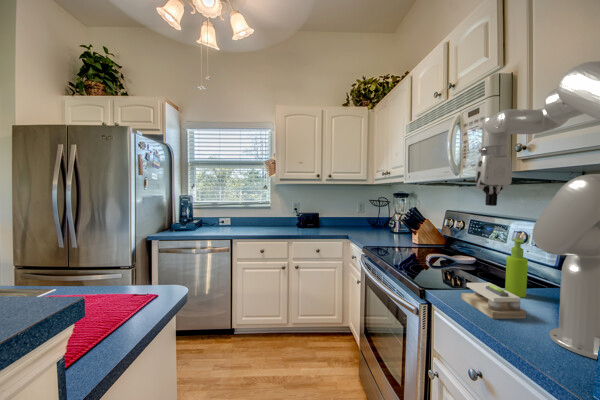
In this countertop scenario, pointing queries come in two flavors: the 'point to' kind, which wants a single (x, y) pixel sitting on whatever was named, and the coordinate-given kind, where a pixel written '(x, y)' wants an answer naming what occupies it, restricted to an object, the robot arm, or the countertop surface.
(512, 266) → the soap dispenser
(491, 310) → the level base
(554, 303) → the countertop surface
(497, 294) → the white rectangular slab
